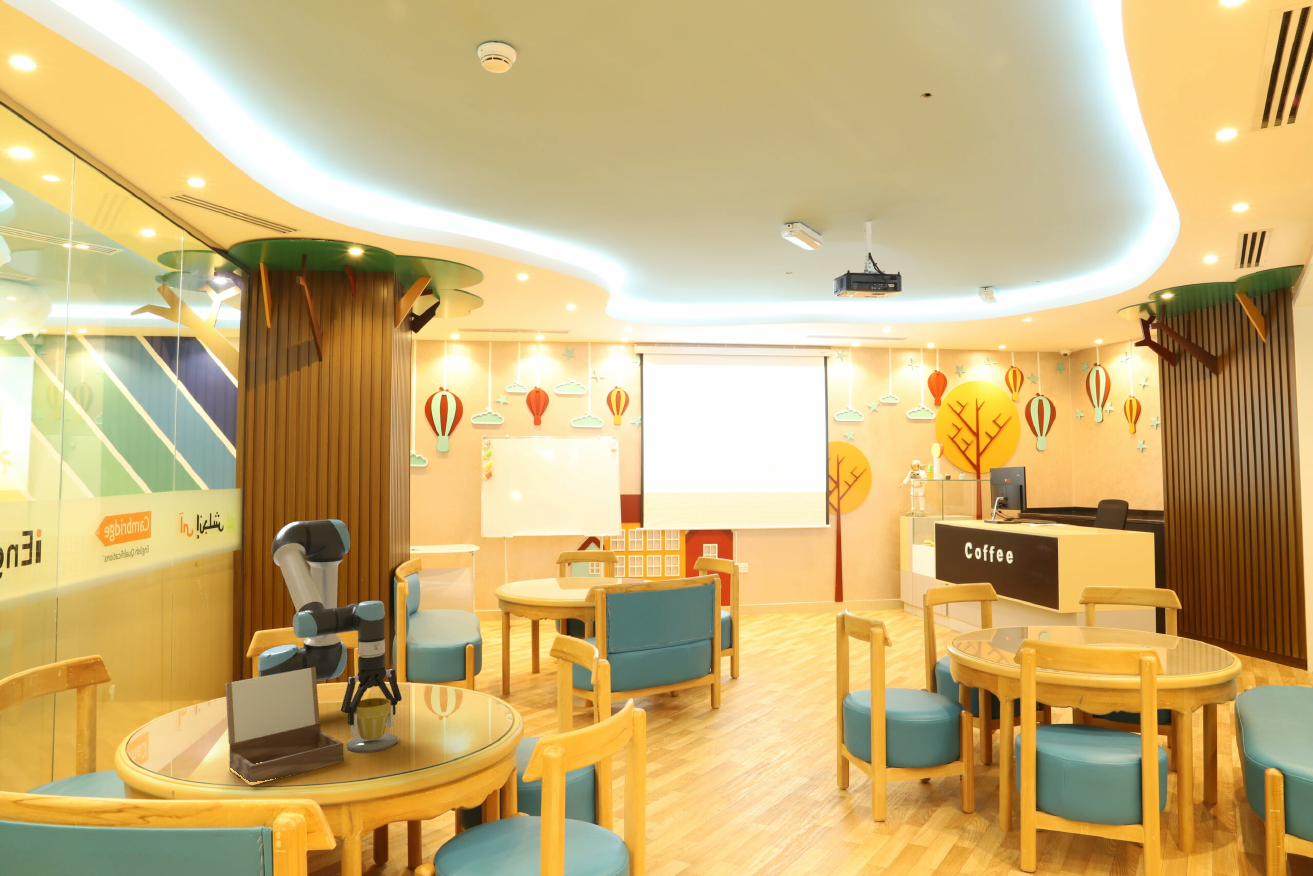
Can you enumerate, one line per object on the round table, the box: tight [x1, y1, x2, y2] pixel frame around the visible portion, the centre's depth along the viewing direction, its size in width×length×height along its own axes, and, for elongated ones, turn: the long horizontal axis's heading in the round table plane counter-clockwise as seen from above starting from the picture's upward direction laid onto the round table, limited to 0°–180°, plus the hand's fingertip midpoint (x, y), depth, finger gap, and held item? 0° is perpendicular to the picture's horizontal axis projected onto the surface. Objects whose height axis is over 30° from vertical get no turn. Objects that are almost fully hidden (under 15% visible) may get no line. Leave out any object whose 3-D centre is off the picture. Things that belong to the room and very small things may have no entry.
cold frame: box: [229, 723, 344, 782], centre depth 222 cm, size 17×24×7 cm
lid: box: [225, 667, 321, 745], centre depth 229 cm, size 4×24×16 cm, turn 134°
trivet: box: [346, 732, 398, 753], centre depth 238 cm, size 14×14×1 cm
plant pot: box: [354, 697, 391, 739], centre depth 238 cm, size 10×10×10 cm
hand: (372, 731), depth 238 cm, fingers closed on plant pot, 10 cm apart
